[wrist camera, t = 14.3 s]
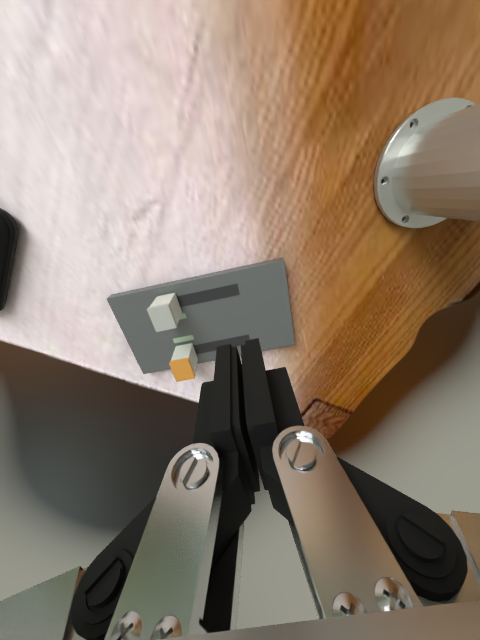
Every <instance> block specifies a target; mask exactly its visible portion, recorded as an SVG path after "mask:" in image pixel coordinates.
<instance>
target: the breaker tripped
mask: <svg viewBox="0 0 480 640" xmlns="http://www.w3.org/2000/svg"><path fill="white" fill-rule="evenodd" d="M197 362H198V358H197V355H196V352H195V349H194V346H193V344H192V343H189V344H184V345H180V346H176V347H175V350H174V353H173V356H172V358H171V361H170V363H169V365H170V367H171V370H172V372H173V375H174V377H175V379H176V382H178V381H183V380H188V379H194V378H195V373H196V367H197Z"/></svg>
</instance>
